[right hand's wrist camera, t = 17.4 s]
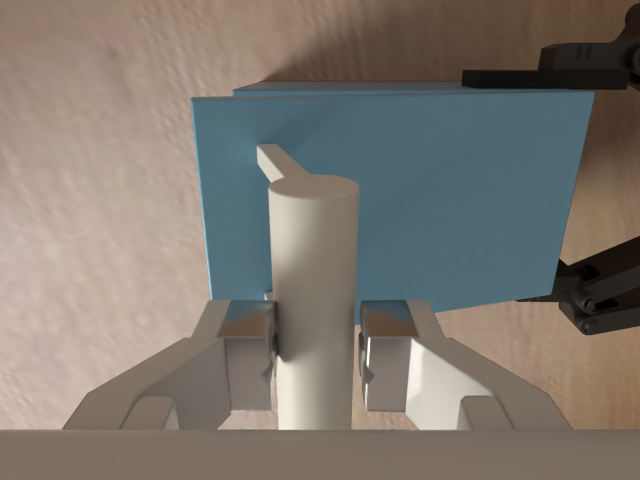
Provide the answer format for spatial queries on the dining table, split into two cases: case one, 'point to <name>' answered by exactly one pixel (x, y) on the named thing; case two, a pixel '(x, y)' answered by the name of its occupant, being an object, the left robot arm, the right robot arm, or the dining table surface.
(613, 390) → the dining table surface
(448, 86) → the chest
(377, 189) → the lid
